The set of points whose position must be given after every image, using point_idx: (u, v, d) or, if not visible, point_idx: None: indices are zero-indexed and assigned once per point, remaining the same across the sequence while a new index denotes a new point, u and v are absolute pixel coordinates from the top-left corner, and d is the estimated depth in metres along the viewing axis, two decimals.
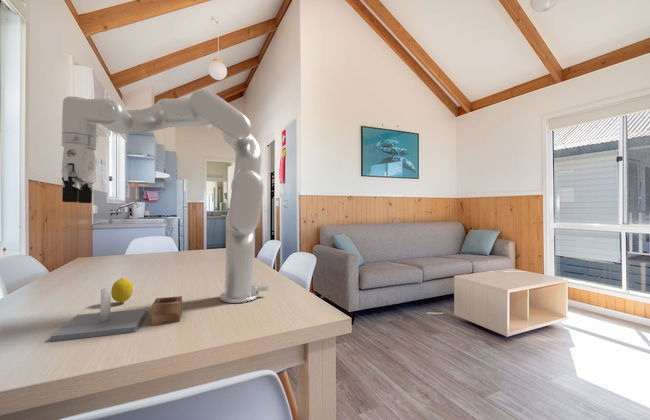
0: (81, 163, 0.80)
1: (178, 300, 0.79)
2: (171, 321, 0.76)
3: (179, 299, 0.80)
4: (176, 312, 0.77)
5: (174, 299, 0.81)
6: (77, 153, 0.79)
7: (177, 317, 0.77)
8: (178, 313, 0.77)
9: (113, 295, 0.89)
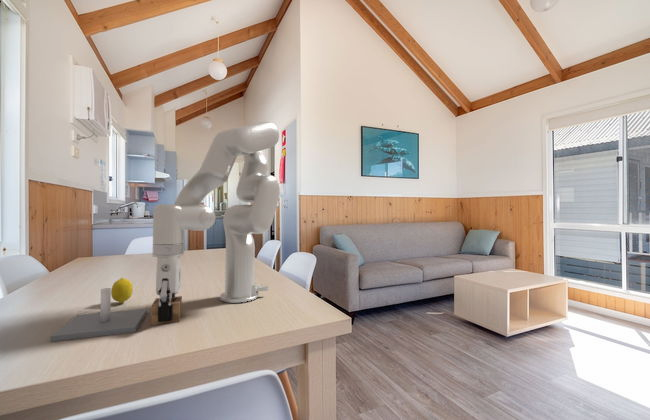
0: (175, 277, 0.75)
1: (178, 300, 0.79)
2: (171, 321, 0.76)
3: (179, 299, 0.80)
4: (176, 312, 0.77)
5: (174, 299, 0.81)
6: (171, 267, 0.75)
7: (177, 317, 0.77)
8: (178, 313, 0.77)
9: (113, 295, 0.89)
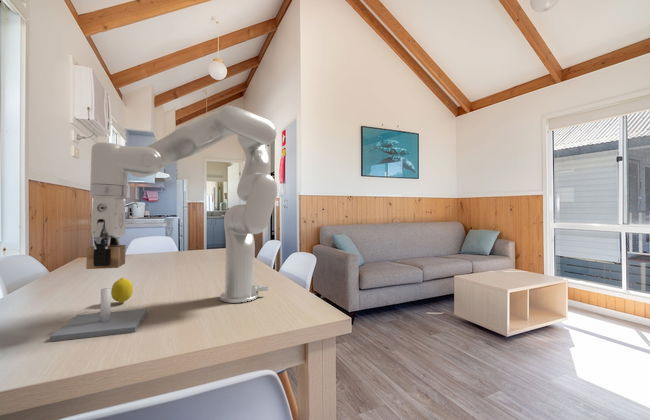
0: (112, 218, 0.70)
1: (118, 246, 0.74)
2: (109, 266, 0.71)
3: (120, 246, 0.75)
4: (114, 257, 0.72)
5: (116, 247, 0.76)
6: (108, 207, 0.70)
7: (116, 263, 0.72)
8: (117, 258, 0.72)
9: (113, 295, 0.89)
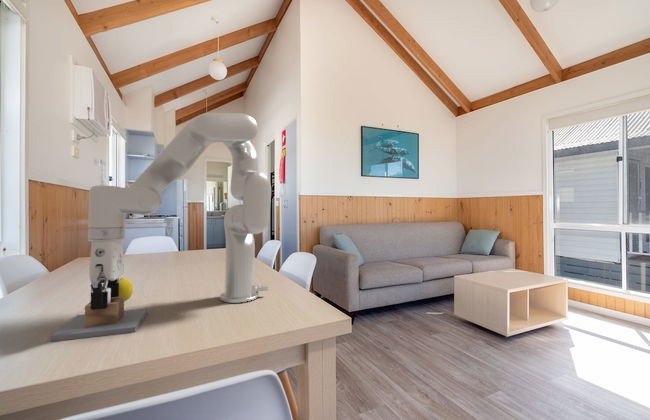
0: (110, 262, 0.70)
1: (117, 300, 0.74)
2: (107, 323, 0.71)
3: (119, 299, 0.75)
4: (113, 313, 0.72)
5: (114, 299, 0.76)
6: (106, 252, 0.70)
7: (114, 319, 0.72)
8: (115, 314, 0.72)
9: None
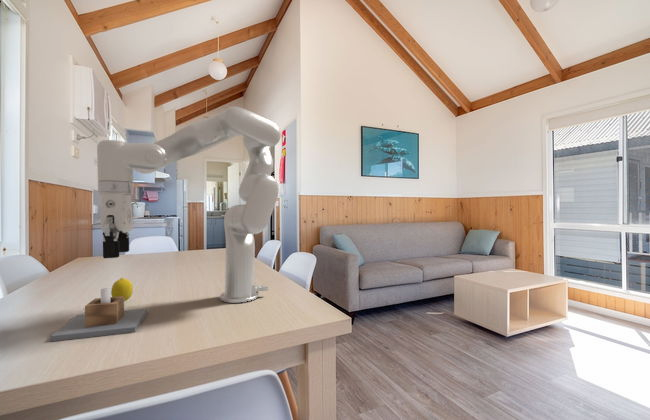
0: (121, 214, 0.72)
1: (117, 300, 0.74)
2: (107, 323, 0.71)
3: (119, 299, 0.75)
4: (113, 313, 0.72)
5: (114, 299, 0.76)
6: (116, 203, 0.72)
7: (114, 319, 0.72)
8: (115, 314, 0.72)
9: (113, 295, 0.89)
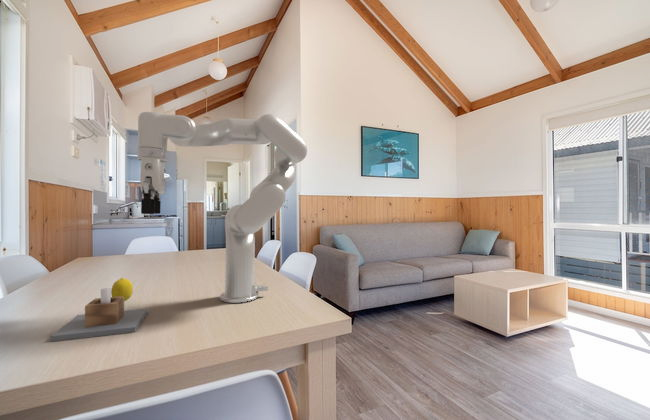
0: (157, 176, 0.83)
1: (117, 300, 0.74)
2: (107, 323, 0.71)
3: (119, 299, 0.75)
4: (113, 313, 0.72)
5: (114, 299, 0.76)
6: (154, 167, 0.82)
7: (114, 319, 0.72)
8: (115, 314, 0.72)
9: (113, 295, 0.89)
